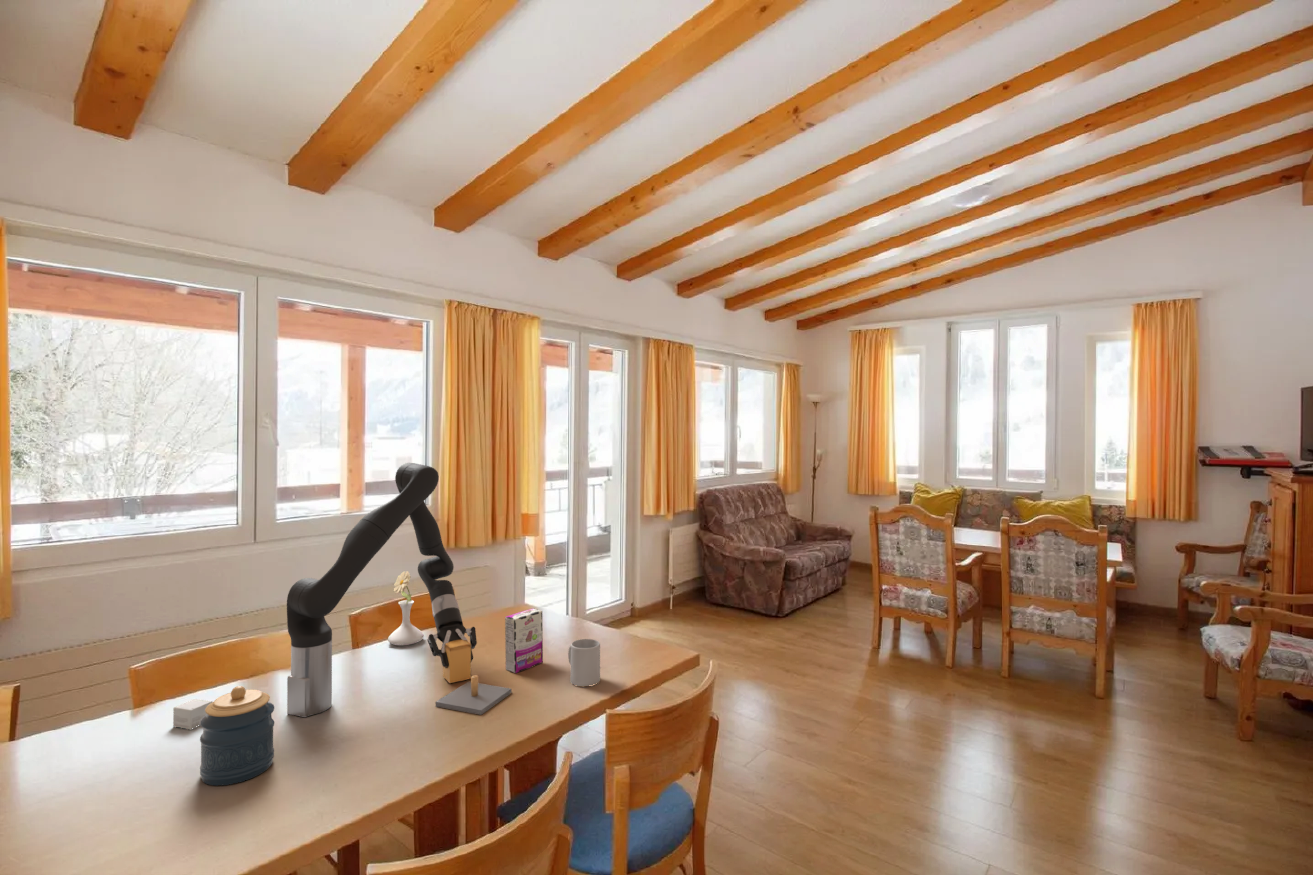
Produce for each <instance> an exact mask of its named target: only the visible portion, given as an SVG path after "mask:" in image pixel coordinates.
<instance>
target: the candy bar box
mask: <svg viewBox="0 0 1313 875" xmlns="http://www.w3.org/2000/svg"><path fill="white" fill-rule="evenodd" d="M504 618H505V619H504V621H505V622H504V626H505V627H504V629H505V630H504V631H505V632H504V633H505V638H504V639H505V642H504V643H505V670H506V671H508V672H511V673H513V674H517V673H520V672H522V671H525V670H528V669H530V668H532V666H533V667H535V666H538V665H540V664H542V663H543V662H544V652H543V651H544V648H543V644H544V643H543V610H542V609H541V610H540V609H538V608H537V609H536V608H530V609H525V610H523V611H519V612H517V613H512V614H510V615H506V616H505V617H504ZM541 662H542V663H541ZM539 663H540V664H539ZM537 664H538V665H537ZM534 665H535V666H534ZM527 668H528V669H527Z"/></svg>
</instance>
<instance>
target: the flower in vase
mask: <svg viewBox="0 0 1313 875" xmlns="http://www.w3.org/2000/svg"><path fill="white" fill-rule="evenodd" d="M410 580H411V574H410V572H409V571H408V570H406V571H405V570H404V571H403V572H401V573H400V575H399V574H398V576H397V578H396V581H395V583H394V584H393V586H394V588H393V592H394V593H395V595H396V594H398V595H399V594H401V595H402V597H403V598H404V599H405V600H401V601H398V605H399V606H400V609H401V613H402V622H401V624H400V626H399V627H397V628H396V629H394V631H393V632H392V633H390V635H389V636H388V638H387V642H388V643H389V644H391V645H396V646H408V645H412V644H413V645H414V644H416V643H419V642H420V641H422V640H423V639H424V638H425V635H424V633H423V631H422V630H420V629H419V628H418V627H416V626H415V625H414V624H412V623H411V620H410V619H411V616H410V615H411V609H412V606H413V604H414V603H415V601H414V600H413V599H412V593H410V589H409V587H408V585H410ZM405 589H407V592H405ZM407 593H408V594H407Z"/></svg>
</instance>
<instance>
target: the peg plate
mask: <svg viewBox="0 0 1313 875" xmlns="http://www.w3.org/2000/svg"><path fill="white" fill-rule="evenodd" d="M512 692H513V691H512V688H509V687H505V686H504V687H503V686H498V685H492V684H491V685H490V684H487V683H486V684H485V683H481V682H479V675H477V674H474V675H471V679H470V681H467V682H465V683H464V684H462V685H461V686H459V687H457V688H456V689H454V690H452V691H451V692H449V693H447V694H446V695H445V696H443V697H441V698H439V699H437V700H436V701H435V707H436V708H442V709H447V710H453V711H459V712H464V713H469V714H475V715H479V716H480V715H481V716H482V715H483V714H485V713H486V712H488V711H489V710H491V708H493V707H494V706H495V704H496V705H497V704H498V703H500V702H501V701H502V700H504V699H506V697H508V696H510V693H511V694H512Z"/></svg>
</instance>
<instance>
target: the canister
mask: <svg viewBox="0 0 1313 875" xmlns="http://www.w3.org/2000/svg"><path fill="white" fill-rule="evenodd" d="M270 699H271V696H270V695H269V694H268V693H266V692H264V691H261V690H259V689H246V688H245V686H243V685H237V686H235V687H233V688H232V690H231V691H230V692H228V693H225V694H222V695H221V696H217V697H216V698H215V700H213V701H212V703H210V704H209V705H208V706H207V707H206V709H205V712H206V715H205V716H204V717H203V718H202V719H201V721H200V725H201V726H200V727H201V728H202V729H203V730H202V734H200V736H199V742H200V766H199V775H200V776H201V781H202V783H204V784H206V785H209V786H214V787H215V786H218V785H221V786H228V785H229V784H230V785H234V784H233V783H235V784H238V782H239V783H243V782H245V780H246V781H247V780H251V779H253V778H255V777H258V776H259V775H261V774H263V773H264V772H265V771H267V770H268V769H269V768H270V767H271V765H272V764H273V761H274V757H275V748H274V726H275V721H274V719H273V718H272V714H273V712H274V711H275V706H274V704H273V703H272V702H270ZM218 787H219V786H218Z"/></svg>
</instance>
